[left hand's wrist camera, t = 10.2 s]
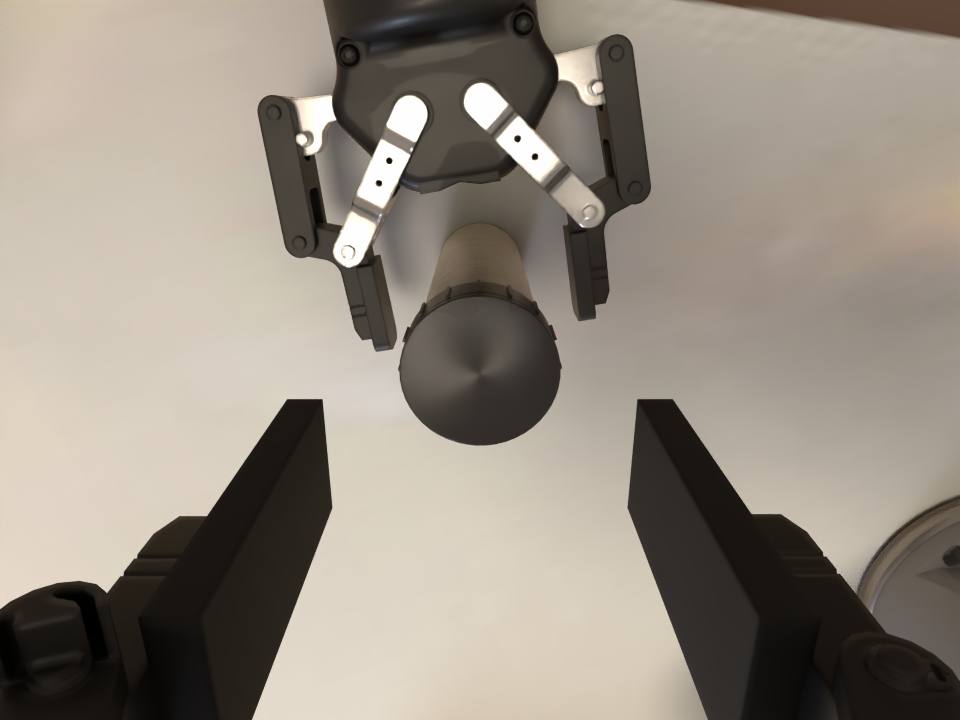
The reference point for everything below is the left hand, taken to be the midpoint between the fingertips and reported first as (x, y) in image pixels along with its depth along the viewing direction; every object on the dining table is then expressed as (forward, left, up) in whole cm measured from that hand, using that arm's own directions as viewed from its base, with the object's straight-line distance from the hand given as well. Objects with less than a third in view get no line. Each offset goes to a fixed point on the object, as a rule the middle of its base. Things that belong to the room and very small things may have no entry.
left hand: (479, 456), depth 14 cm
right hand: (0, +2, -14) cm, 14 cm away
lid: (0, 0, -5) cm, 5 cm away
